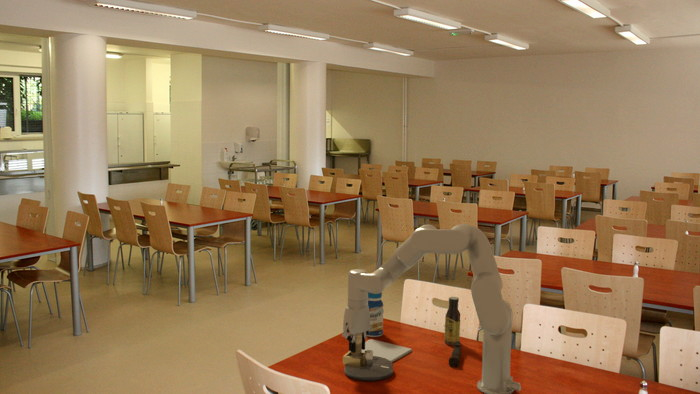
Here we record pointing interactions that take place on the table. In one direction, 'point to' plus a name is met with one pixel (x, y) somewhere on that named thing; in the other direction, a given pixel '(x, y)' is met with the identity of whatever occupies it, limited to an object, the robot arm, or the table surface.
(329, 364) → the table surface
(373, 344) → the mat
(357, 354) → the beige rounded cylinder
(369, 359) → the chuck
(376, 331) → the beverage bottle
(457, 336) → the sauce bottle
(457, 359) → the hand tool
